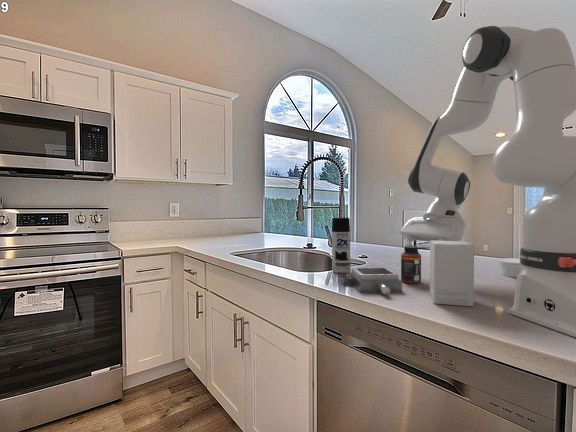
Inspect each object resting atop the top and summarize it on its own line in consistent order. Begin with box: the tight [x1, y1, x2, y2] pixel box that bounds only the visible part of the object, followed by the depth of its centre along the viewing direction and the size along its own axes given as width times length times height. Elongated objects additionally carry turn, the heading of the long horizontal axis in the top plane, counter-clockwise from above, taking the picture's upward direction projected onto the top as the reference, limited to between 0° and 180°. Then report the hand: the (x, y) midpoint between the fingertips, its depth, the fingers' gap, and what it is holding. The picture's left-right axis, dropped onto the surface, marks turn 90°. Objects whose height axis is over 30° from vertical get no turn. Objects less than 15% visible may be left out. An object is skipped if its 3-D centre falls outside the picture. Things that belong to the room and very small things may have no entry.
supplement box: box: [429, 240, 475, 308], centre depth 82 cm, size 9×9×15 cm
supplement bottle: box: [400, 245, 422, 285], centre depth 102 cm, size 6×6×11 cm
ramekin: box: [498, 257, 522, 279], centre depth 109 cm, size 11×11×5 cm
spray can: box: [331, 217, 352, 274], centre depth 118 cm, size 7×7×20 cm
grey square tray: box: [340, 266, 403, 296], centre depth 95 cm, size 19×15×4 cm
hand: (420, 249), depth 104 cm, fingers open, 8 cm apart
